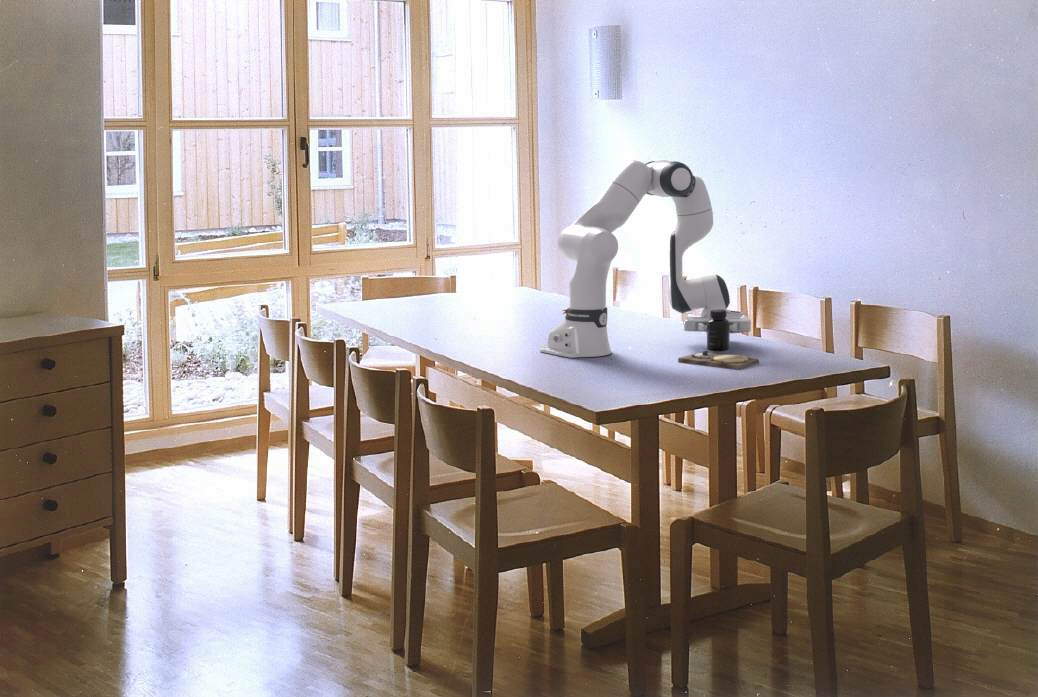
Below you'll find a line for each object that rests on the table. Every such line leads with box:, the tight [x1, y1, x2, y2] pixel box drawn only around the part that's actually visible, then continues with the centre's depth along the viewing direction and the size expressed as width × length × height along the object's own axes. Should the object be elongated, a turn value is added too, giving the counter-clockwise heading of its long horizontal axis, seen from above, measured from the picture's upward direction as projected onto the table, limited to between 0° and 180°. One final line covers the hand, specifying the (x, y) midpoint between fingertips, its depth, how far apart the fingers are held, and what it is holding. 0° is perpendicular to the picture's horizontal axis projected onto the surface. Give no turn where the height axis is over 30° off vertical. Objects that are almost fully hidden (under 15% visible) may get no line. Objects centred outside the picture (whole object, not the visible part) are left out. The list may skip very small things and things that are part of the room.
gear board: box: [677, 349, 760, 371], centre depth 354 cm, size 20×12×3 cm, turn 50°
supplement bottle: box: [706, 310, 731, 353], centre depth 366 cm, size 7×7×12 cm
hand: (718, 328), depth 365 cm, fingers closed on supplement bottle, 7 cm apart
